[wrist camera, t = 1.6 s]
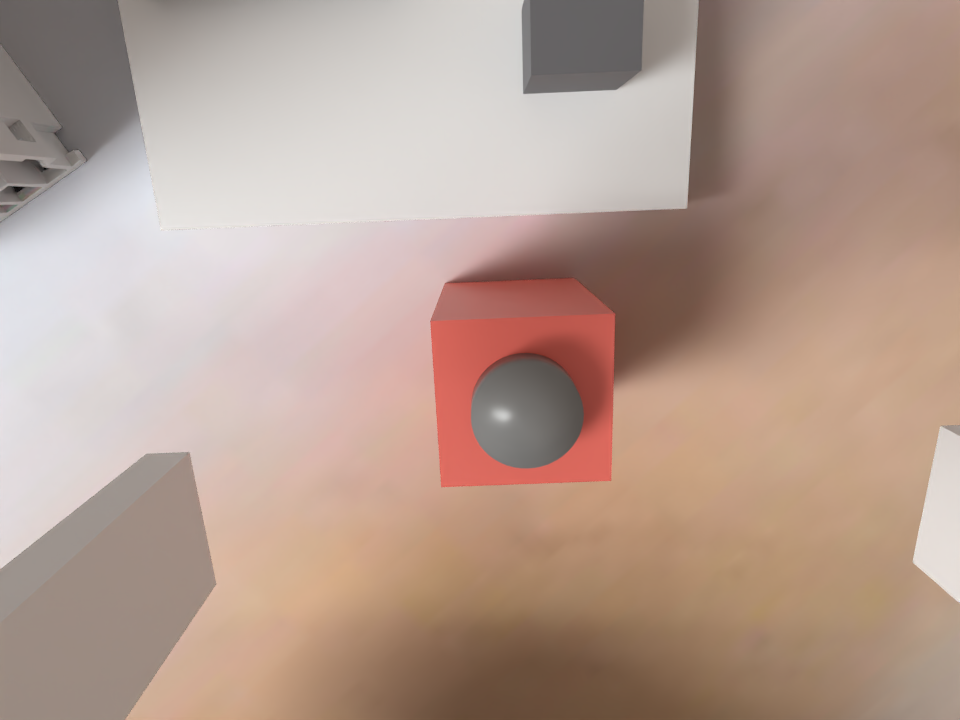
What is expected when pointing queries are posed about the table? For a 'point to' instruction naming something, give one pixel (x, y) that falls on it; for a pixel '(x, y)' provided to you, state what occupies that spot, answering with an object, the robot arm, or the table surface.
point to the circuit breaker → (27, 141)
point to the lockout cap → (523, 382)
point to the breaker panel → (411, 108)
